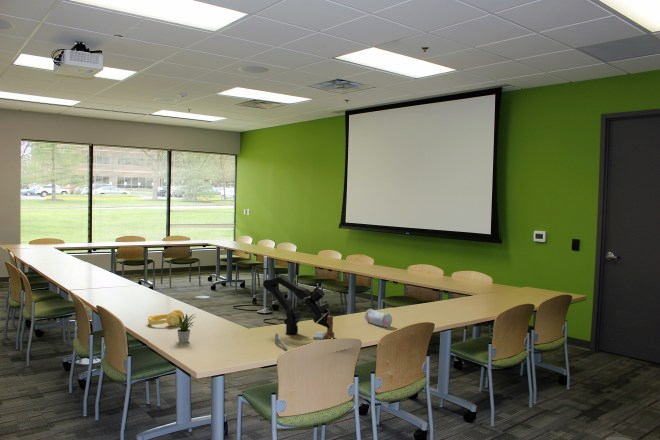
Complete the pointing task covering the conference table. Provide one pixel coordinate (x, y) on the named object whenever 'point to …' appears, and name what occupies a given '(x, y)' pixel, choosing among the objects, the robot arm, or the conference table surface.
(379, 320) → the pencil case
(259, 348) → the conference table surface
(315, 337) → the board
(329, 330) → the marking gauge
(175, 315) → the headset
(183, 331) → the house plant
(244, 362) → the conference table surface
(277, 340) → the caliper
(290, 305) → the robot arm
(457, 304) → the conference table surface
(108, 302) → the conference table surface
